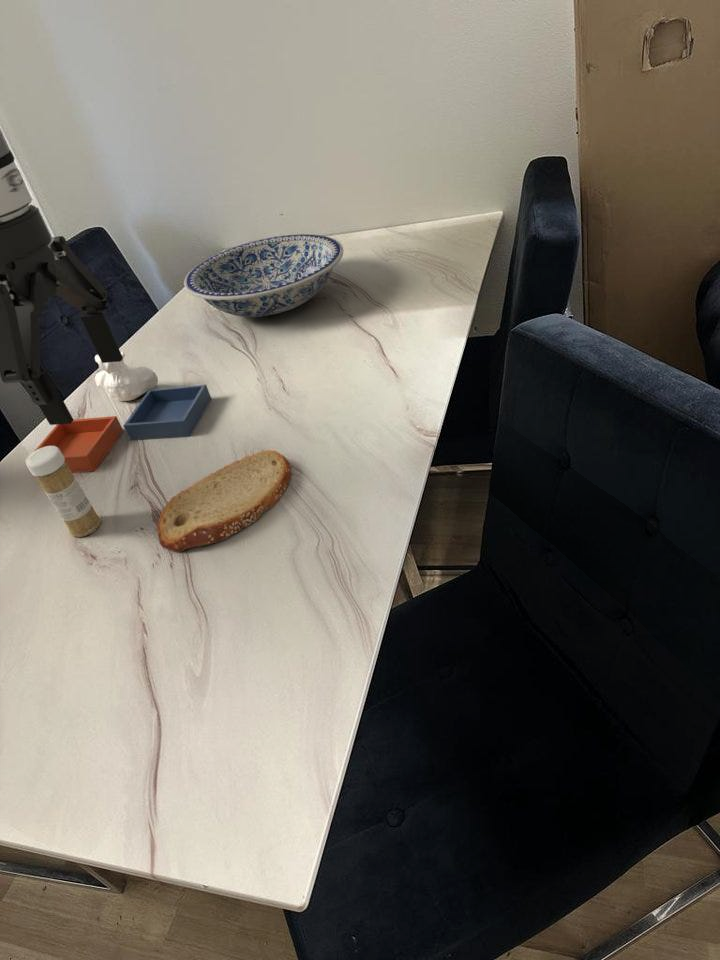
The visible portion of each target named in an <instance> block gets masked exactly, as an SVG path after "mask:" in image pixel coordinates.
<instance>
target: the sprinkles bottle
mask: <svg viewBox="0 0 720 960" xmlns="http://www.w3.org/2000/svg"><path fill="white" fill-rule="evenodd" d="M35 450H36V449H35ZM35 450H34V451H33V452H31V453H30V454H29V455H28V456H27V458H26V459H25V465H26V467H27V469H28V470H29V472H30V474H31V475H32V476H33V477H34V478H35V479H36V480H37V482H38V484H39V485H40V486H41V488H42V490H43V492H44V493H45V495H46V496H47V498H48V499H49V501H50V503H51V504H52V506H53V507H54V510H55V511H56V512H57V514H58V515H59V517H60V519H61V520H63V522H64V524H65V525H66V527H67V528H68V530H69V533H70V534H71V536H73V537H77V538H82V537H86V536H89V535H91V534H92V533H94V532H95V531H96V530H97V529H98V528H99V526H100V525H101V522H102V520H101V517H100V516H99V515H98V514H97V512H96V510H95V508H94V507H93V505H92V503H91V500H90V499H89V497H88V496H87V494H86V492H85V491H84V489H83V487H82V486H81V484H80V482H79V481H78V479H77V477H76V476H75V475H74V472H71V470H70V469H69V467H68V465H67V464H66V461H65V458H64V456H63V454H62V453H61V451H60V450H59V448H58V447H56V446H46V447H42V448H40V449H38V450H36V451H35Z"/></svg>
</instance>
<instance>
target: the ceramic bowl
mask: <svg viewBox="0 0 720 960" xmlns="http://www.w3.org/2000/svg"><path fill="white" fill-rule="evenodd" d="M344 250H345V249H344V247H343V244H342V243H341V242H340V241H339V240H337V239H335V238H333V237H330V236H326V235H322V234H312V233H311V234H310V233H309V234H308V233H307V234H306V233H297V234H287V235H285V234H284V235H279V236H272V237H266V238H261V239H257V240H253V241H249V242H245V243H242V244H239V245H236V246H233V247H231V248H230V247H229V248H228V249H225V250H222V251H221V252H218V253H216V254H214V255H212V256H210V257H208V258H206V259H205V260H203V261H202V262H200V263H198V264H197V265H196V266H194V267H193V268H192V269H190V271H189V272H188V273H187V274H186V276H185V278H184V282H183V283H184V287H185V290H186V291H187V292H188V294H190V295H192V296H194V297H196V298H200V299H203V300H204V301H205V302H207V303H208V304H209V305H211V306H212V307H213V308H215V309H217V310H218V311H221V312H224V313H225V314H229V315H233V316H236V317H243V318H245V317H246V318H256V317H267V316H273V315H277V314H280V313H283V312H287V311H291V310H292V309H295V308H297V307H300V306H301V305H304V304H305V303H307V302H309V301H310V300H311V299H312V298H313V297H315V296H316V295H317V294H318V293H319V292H320V291H321V290H322V289H323V288H324V286H325V285H326V283H327V282H328V280H329V278H330V276H331V274H332V273H333V269H334V267H335V266H337V265H338V263H339V262H340V261H341V260H342V258H343V256H344Z"/></svg>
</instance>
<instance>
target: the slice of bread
mask: <svg viewBox="0 0 720 960" xmlns="http://www.w3.org/2000/svg"><path fill="white" fill-rule="evenodd" d="M291 479H292V466H291V464H290V462H289V460H288V459H287V458H286V457H285V455H284V454H281V453H280V452H277V451H276V450H271V449H268V450H267V449H265V450H260V451H257V452H255V453H252V454H249V455H247V456H245V457H244V456H243V457H242V458H240V459H238V460H236V461H233V462H231V463H230V464H227V465H225V466H223V467H222V468H220V469H217V470H216V471H214V472H211V473H210V474H209V475H208V476H205V477H203V478H202V479H199V480H198V481H195V482H194V483H192V484H191V485H190V486H188V487H187V488H185V489H183V490H181V491H179V492H178V493H177V494H176V495H174V496H172V497H171V498H170V500H168V502H167V503H166V504H165V506H164V507H163V508H162V509H163V510H162V511H161V513H160V515H159V519H158V522H157V528H156V530H157V537H158V540H159V541H158V542H159V544H160V545H161V547H162V548H163V549H167V550H169V551H171V552H176V553H182V552H184V551H185V550H188V549H191V548H195V547H200V546H201V547H202V546H209V545H212V544H215V543H219V542H222V541H225V540H226V539H228V538H230V537H231V536H232V535H235V534H238V533H239V532H241V531H242V530H244V529H245V528H248V527H249V526H250V525H252V524H253V523H256V522H257V521H258V519H259V518H260V517H261V515H263V513H265V512H267V511H268V510H270V509H271V508H272V507H273V506H274V505H276V504H277V502H278V501H279V500H280V499H281V498H282V495H283V494H284V493H285V491H286V490H287V488H288V487H289V484H290V481H291Z"/></svg>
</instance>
